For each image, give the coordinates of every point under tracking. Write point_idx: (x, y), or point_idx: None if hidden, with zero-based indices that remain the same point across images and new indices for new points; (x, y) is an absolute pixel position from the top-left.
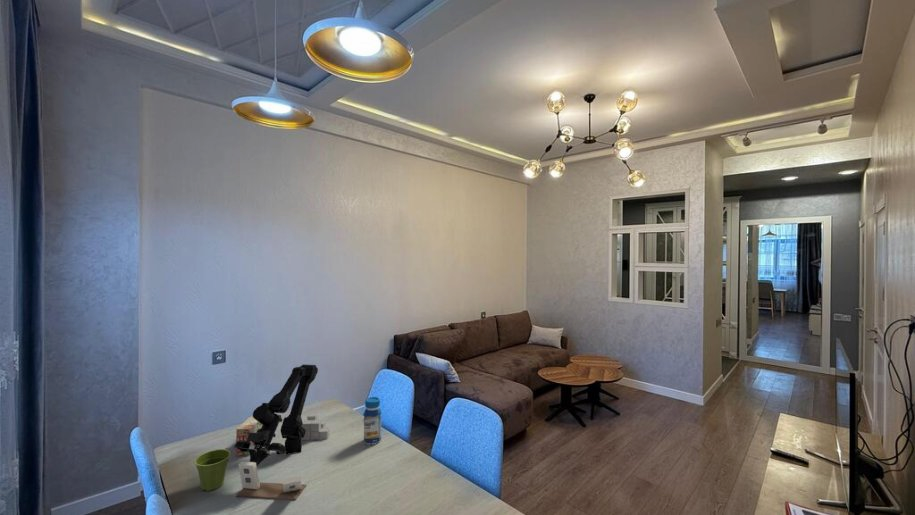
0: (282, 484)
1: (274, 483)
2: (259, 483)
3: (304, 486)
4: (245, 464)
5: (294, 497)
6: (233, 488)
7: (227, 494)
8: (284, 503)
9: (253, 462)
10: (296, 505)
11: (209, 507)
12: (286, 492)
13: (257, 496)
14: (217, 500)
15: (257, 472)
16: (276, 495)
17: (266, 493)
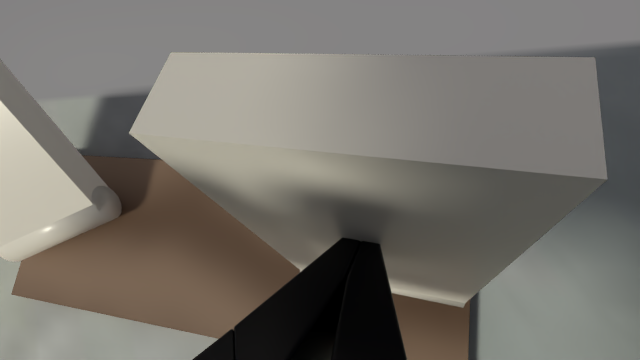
0: (153, 311)
1: (215, 332)
2: (298, 268)
3: (18, 273)
4: (363, 66)
5: None
6: (589, 309)
7: (582, 212)
8: (113, 126)
9: (183, 131)
10: (56, 114)
11: (618, 45)
12: None
13: None
14: (618, 129)
15: (247, 224)
16: (161, 178)
17: None
